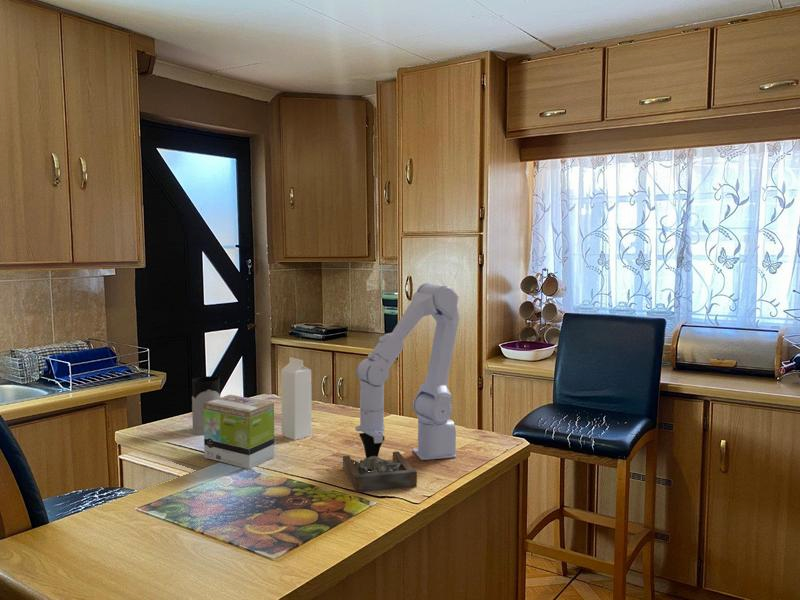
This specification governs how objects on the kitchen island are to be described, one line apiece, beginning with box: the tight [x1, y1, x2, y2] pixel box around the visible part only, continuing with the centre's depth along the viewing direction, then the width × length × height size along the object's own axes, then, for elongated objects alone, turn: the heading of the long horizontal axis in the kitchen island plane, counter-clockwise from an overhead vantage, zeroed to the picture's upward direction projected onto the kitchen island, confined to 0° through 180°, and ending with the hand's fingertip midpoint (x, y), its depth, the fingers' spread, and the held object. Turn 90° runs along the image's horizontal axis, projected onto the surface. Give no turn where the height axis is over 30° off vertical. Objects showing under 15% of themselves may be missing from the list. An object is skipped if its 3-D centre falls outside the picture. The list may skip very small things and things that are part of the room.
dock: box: [342, 451, 418, 493], centre depth 149 cm, size 14×16×4 cm
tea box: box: [203, 394, 275, 470], centre depth 160 cm, size 15×10×15 cm, turn 62°
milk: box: [280, 357, 313, 441], centre depth 178 cm, size 6×6×22 cm
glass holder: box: [190, 375, 222, 436], centre depth 185 cm, size 9×14×15 cm, turn 28°
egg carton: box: [351, 456, 401, 474], centre depth 149 cm, size 11×8×4 cm
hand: (371, 462), depth 156 cm, fingers closed
